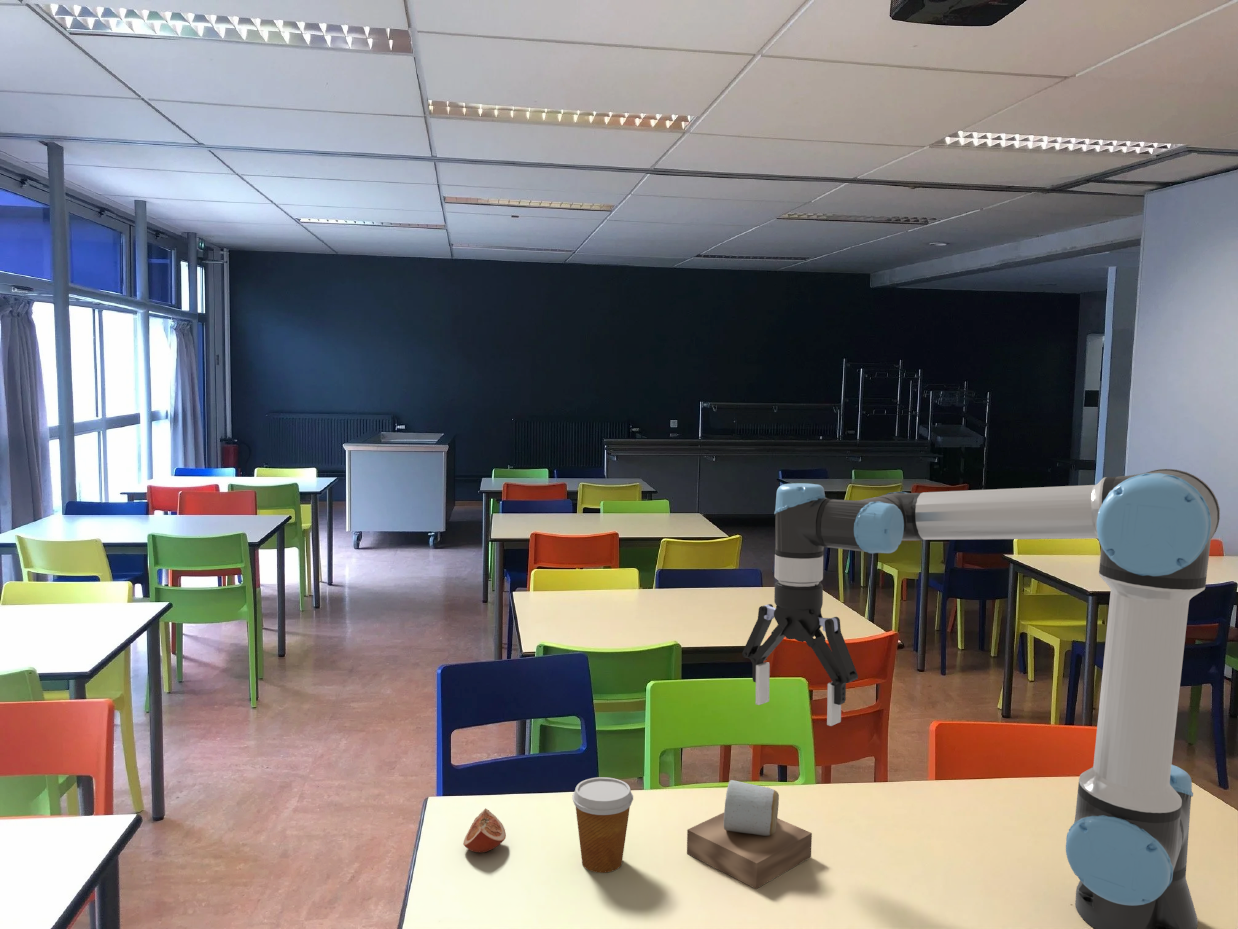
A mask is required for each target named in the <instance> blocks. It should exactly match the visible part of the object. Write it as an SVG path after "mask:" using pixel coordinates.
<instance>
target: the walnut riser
mask: <svg viewBox="0 0 1238 929" xmlns="http://www.w3.org/2000/svg"><path fill="white" fill-rule="evenodd" d="M686 831H687V832H686V835H687V836H686V854H687V855H689V856H691V857H693V858H695V860H696V859H697V860H699V861H700V862H702V863H704V864H706V865H708V866H710V867H712V868H714V869H716V870H718V871H720V872H722V873H724V874H726V875H728V876H730V877H731V878H734V879H736V880H738V881H740V882H742V883H744V884H746V885H747V886H749V887H751V888H753V889H755V890H757V889H759V888H760V887H762V886H764V885H765V884H767V883H769V882H770V881H772V880H774V879H777V877H778V878H779V876H781V875H784V874H785V873H786V872H788V871H790V870H792V869H793V868H794V867H797V866H798V865H800V864H802V863H804V862H805V861H807V860H808V859H810V858H812V845H813V844H812V841H813V840H812V839H813V833H812V831H811V832H810V831H809V830H806V829H804V828H802V827H799V826H797V825H794V824H792V823H789V822H787V821H785V820H782V819H780V818H778V817H777V825H776V830H775V833H774V834H773V835H770V836H762V835H755V834H748V833H741V832H734V831H727V830H725V829H724V812H722V813H719V814H718V815H716V816H713V817H711V818H709V819H707V820H705V821H702V822H701V823H698V824H696V825H694V826H692V827H690V828H687V830H686Z"/></svg>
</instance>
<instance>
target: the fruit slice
mask: <svg viewBox="0 0 1238 929" xmlns="http://www.w3.org/2000/svg"><path fill="white" fill-rule="evenodd" d="M506 834H507V833H506V829H505V826H504V824H503V823H502V822H501V821H500V820H499V818H498V817H497V816H496V815H494V813H492V812H491V811H490V810H489V809H488V808H484V809H483V810H482V811H481V812H480V813H479V814H478V816H476V817H475V818H474V820H473V821H472V823H471V826H470V828H468V831H467V833H466V835H465V837H464V839H463V846H464V847H465V848H466V849H468V850H469V851H471V852H474V853H486V852H488V851H492V850H493V849H495V848H497V847H499V846H500V845H501V844H502V843H503V842H504V841H505V839H506V837H507V835H506Z"/></svg>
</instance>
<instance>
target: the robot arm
mask: <svg viewBox="0 0 1238 929" xmlns="http://www.w3.org/2000/svg"><path fill="white" fill-rule="evenodd" d="M1220 512H1221V508H1220V505H1219V502H1218V499H1217V497H1216V495H1215V493H1214V491H1213V490H1212V488H1210V486H1209V485H1208V484H1207V483H1206V482H1205V481H1203V480H1202V479H1201V478H1200V477H1198V476H1196V475H1194V474H1192V473H1191V472H1187V471H1183V470H1181V469H1172V468H1161V469H1154V470H1150V471H1147V472H1143V473H1137V474H1131V475H1123V476H1105V477H1103V478H1102V479H1101V480H1099V481H1098V483H1097V484H1089V485H1087V484H1086V485H1085V484H1084V485H1065V486H1044V487H1041V486H1040V487H1039V486H1038V487H1022V488H1021V487H1019V488H1016V487H1015V488H997V489H971V490H949V491H948V490H947V491H928V492H927V491H926V492H911V493H910V492H905V491H894V492H888V493H886V494H882V495H879V496H875V497H869V498H865V499H860V500H849V499H835V498H834V499H833V498H828V497H826V494H825V488H824V487H823V486H822V485H821V484H814V483H804V482H803V483H799V482H797V483H784V484H781V485H780V486H778V488H777V490H776V497H775V510H774V513H773V514H774V516H775V517H774V518H775V521H774V522H775V525H774V526H775V548H774V552H775V553H774V578H775V580H777V581H776V582H775V583H774V599H773V600H774V601H773V602H774V604H775V607H774V605H773V604H772V603H768V604H765V605H761V606H759V608H758V614H757V620H756V622H755V623H754V627H753V629H752V630H751V633H750V634H749V636H748V639H747V641H746V644H745V646H744V648H743V651H742V652H741V653H742V654H741V655H742V657H743V658H745V659H748V660H750V662H751V663H752V682H753V683H755V705H758V706H760V705H763V704H766V703H768V702H770V669H771V667H770V662H767V660H768V657H769V656H770V655H771V654H772V653H773V652H774V650H775V649H776V648H777V647H778V646H779V645H780V643H781V642H782V641H783V640H784V639H787V640H795V641H797V642H800V643H804V642H805V643H806V645H807V646H808V647H809V648H811V649H812V651H813V653H814V654H815V655H816V657H817V659H818V661H819V662H820V664H821V665H822V667H823V668H824V671H825V672H826V674H827V676H829V679H830V681H831V682H828V683H827V695H826V696H827V699H826V700H827V701H826V702H827V703H826V705H827V709H826V710H827V713H826V725H827V726H829V727H833V726H834V725H836V724H839V723H841V722H842V705H843V704H845V703H846V700H847V699H846V698H847V697H846V696H847V695H846V693H847V692H846V691H847V684H849V683H851V682H854V681H855V680H856V681H857V680H858V678H859V675H858V672H857V669H856V667H855V664H854V662H853V659H852V657H851V654H850V652H849V648H848V647H847V643H846V641H845V638H844V636H843V632H842V630H841V629H842V628H841V627H842V626H841V619H840V617H838V616H833V617H823V614H822V607H823V602H824V601H823V600H824V596H823V595H824V585H823V584H822V583H821V581H823V579H824V549H825V548H828V549H830V548H833V549H841V550H848V551H855V552H856V551H858V552H866V553H868V554H872V555H873V554H892V553H894V552H896V551H897V550H898V548H899V546H900V545H901V544H902V541H926V540H929V541H930V540H932V541H933V540H942V541H943V540H1046V539H1047V540H1049V539H1050V540H1051V539H1052V540H1054V539H1055V540H1057V539H1058V540H1063V539H1064V540H1065V539H1066V540H1067V539H1069V540H1071V539H1073V540H1074V539H1075V540H1077V539H1080V540H1082V539H1085V540H1086V539H1087V540H1088V539H1097V540H1098V542H1099V544H1100V546H1101V547H1100V558H1099V571H1098V575H1099V578H1101V580H1102V581H1103V582H1105V584H1106V585H1107V586H1108V587H1109V589H1110V592H1109V593H1110V595H1109V606H1108V614H1107V625H1106V634H1105V645H1104V656H1103V664H1102V665H1103V667H1102V674H1101V675H1102V676H1101V684H1100V686H1101V687H1100V694H1099V707H1098V717H1097V724H1096V725H1097V726H1096V735H1095V744H1094V745H1095V746H1094V755H1093V756H1094V757H1093V766H1092V767H1091V768H1089V769H1087V770H1085V771H1083V772H1082V773H1081V774H1080V775H1079V777H1078V778H1079V779H1078V785H1077V796H1076V805H1075V813H1074V814H1075V815H1074V822H1073V823H1072V825H1070V827H1069V829H1068V831H1067V833H1066V838H1065V839H1066V840H1065V854H1066V858H1067V859H1066V860H1067V862H1068V864H1069V866H1070V868H1071V870H1072V872H1073V873H1074V875H1075V876H1077V878H1078V880H1079V881H1078V883H1077V885H1076V890H1075V900H1074V901H1075V903H1074V904H1075V909H1076V911H1077V913H1078V915H1079V916H1080V917H1081V918H1082V919H1083V920H1084V921H1085V922H1086V923H1087V924H1088V925H1089V926H1090V927H1092V928H1094V929H1198V925H1199V922H1198V921H1199V920H1198V915H1197V912H1196V908H1195V906H1194V905H1195V904H1194V902H1193V898H1192V895H1191V890H1190V887H1189V885H1188V884H1189V883H1188V882H1187V876H1186V875H1187V865H1188V864H1187V863H1188V847H1189V835H1190V834H1189V831H1190V818H1191V804H1192V797H1194V792H1193V786H1192V785H1193V783H1192V777H1191V776H1190V774H1189V773H1188V772H1187V771H1185V770H1184V769H1183V768H1180V767H1179V766H1176V765H1174V764H1172V763H1173V754H1174V745H1175V734H1176V728H1177V719H1178V718H1177V717H1178V708H1179V699H1180V698H1179V697H1180V689H1181V681H1182V671H1183V670H1182V669H1183V661H1184V651H1185V642H1186V631H1187V623H1188V616H1189V615H1188V614H1189V605H1190V600H1191V599H1192V598H1193V597H1195V596H1197V595H1198V594H1200V593H1201V592H1203V591H1205V589H1206V584H1207V576H1208V565H1209V561H1210V560H1209V558H1210V557H1209V556H1210V550H1211V543H1212V542H1211V540H1212V539H1213V538H1214V535H1215V534H1216V532H1217V530H1218V527H1219V524H1220V519H1221V513H1220ZM773 619H775V622H776V623H777V625H776V627H775V628H774V629H772V631H771V633H770V635H769V636H768V638H767V639H766V640H765V641H764V642H763V640H764V638H765V636H766V634H767V632H768V629H769V627H770V626H771V623H772V621H773ZM821 628H822V630H821ZM822 631H823V632H824V633H825V635H824V634H823V632H822ZM814 637H815V638H814ZM826 640H827V642H828V643H827V642H826Z"/></svg>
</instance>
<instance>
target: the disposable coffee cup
mask: <svg viewBox="0 0 1238 929" xmlns="http://www.w3.org/2000/svg"><path fill="white" fill-rule="evenodd" d="M571 798H572V802H573V803H574V806H575V813H576V821H577V829H578V831H577V832H578V837H579V838H578V839H579V840H578V841H579V847H580V857H581V864H582V866H583V867H584V868H585V869H586V870H587V871H590V872H594V873H600V874H601V873H603V874H604V873H610V872H611V873H612V872H614V871H616V870H619V869H620V868H621V866H622V864H623V859H624V858H623V857H624V852H625V842H626V836H627V830H628V829H627V828H628V823H629V816H630V808H631V805H632V803H633V801H634V794H633V792H632V791H631V787H630V785H629V784H628V783H627V782H625V781H623V780H620V779H617V778H613V777H606V776H605V777H604V776H603V777H601V776H599V777H598V776H597V777H591V778H587V779H585V780H582V781H580V782H579V783H578V784H577V785H576V787H575V790H574V792H573V793H572V797H571Z"/></svg>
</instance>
